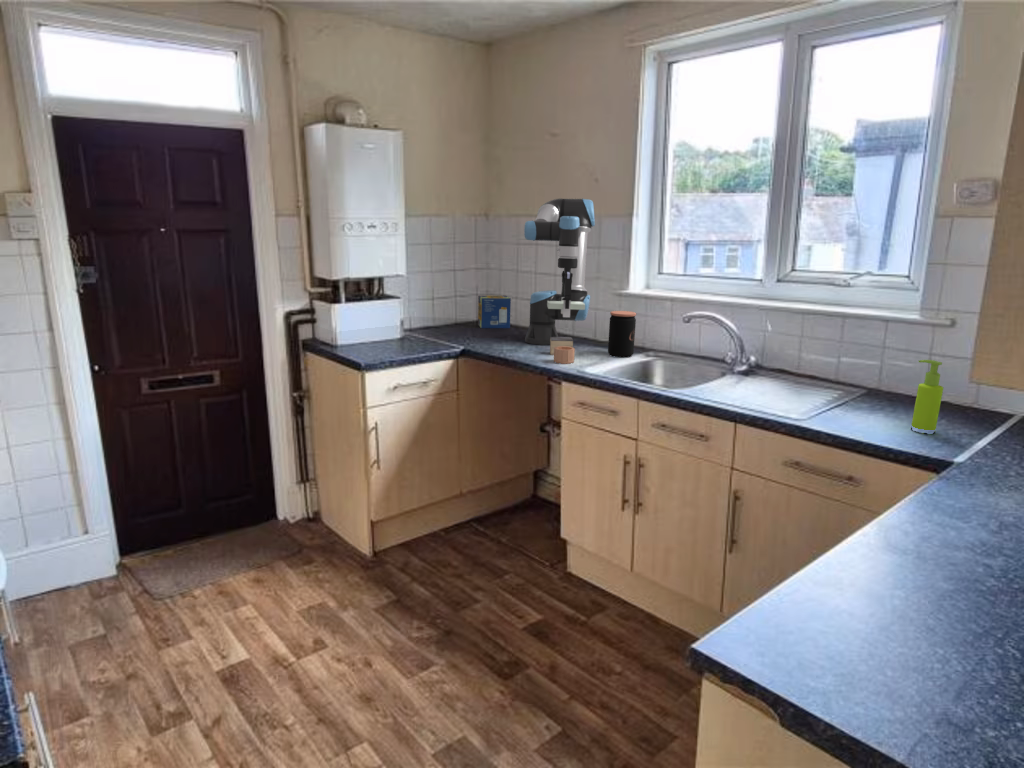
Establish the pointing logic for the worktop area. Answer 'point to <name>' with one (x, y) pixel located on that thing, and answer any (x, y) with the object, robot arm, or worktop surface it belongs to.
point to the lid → (560, 305)
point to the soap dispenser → (928, 399)
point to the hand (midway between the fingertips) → (565, 315)
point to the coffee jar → (621, 333)
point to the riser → (560, 342)
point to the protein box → (494, 311)
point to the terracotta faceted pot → (564, 354)
